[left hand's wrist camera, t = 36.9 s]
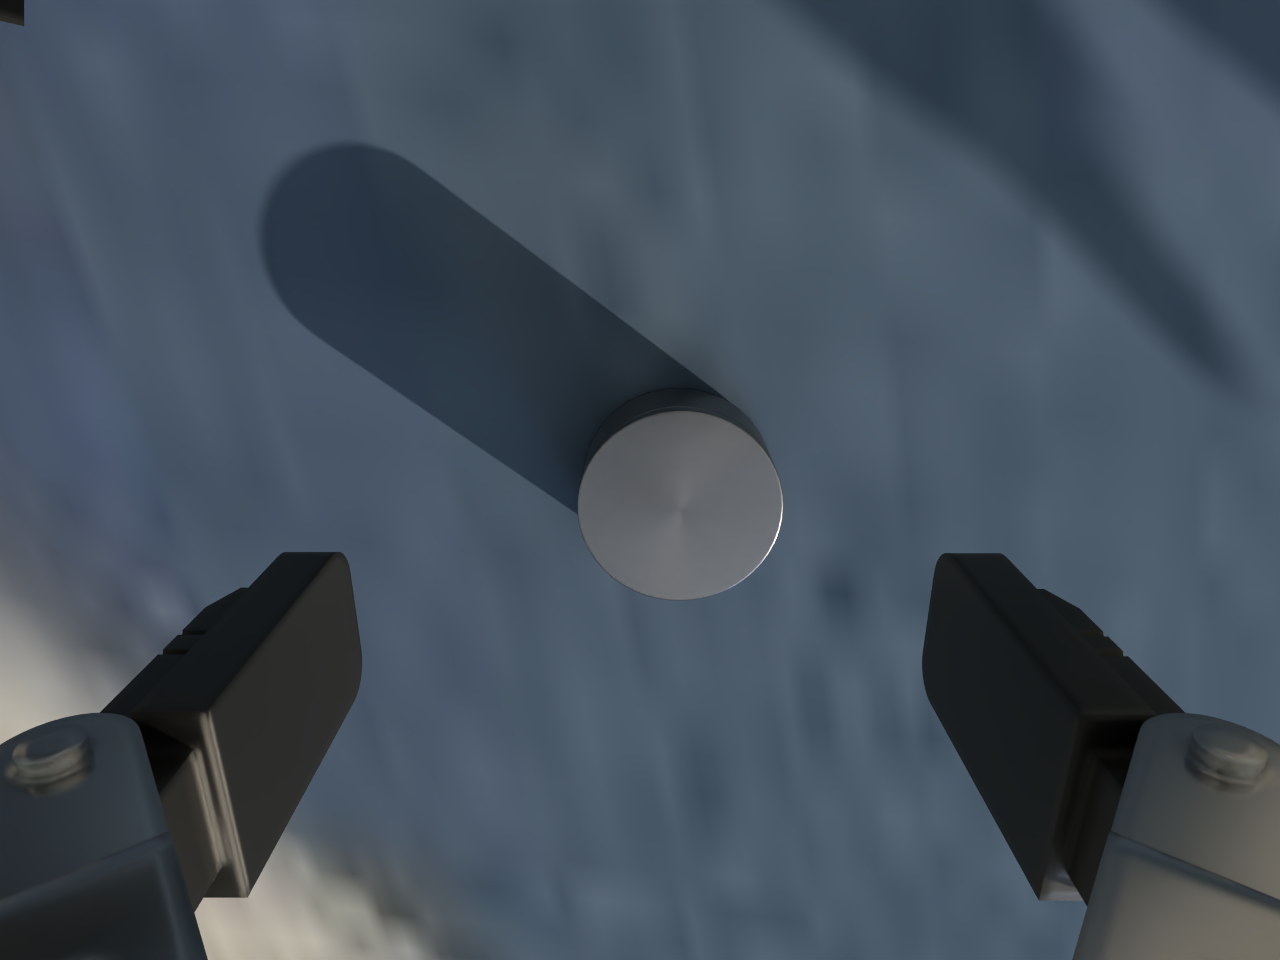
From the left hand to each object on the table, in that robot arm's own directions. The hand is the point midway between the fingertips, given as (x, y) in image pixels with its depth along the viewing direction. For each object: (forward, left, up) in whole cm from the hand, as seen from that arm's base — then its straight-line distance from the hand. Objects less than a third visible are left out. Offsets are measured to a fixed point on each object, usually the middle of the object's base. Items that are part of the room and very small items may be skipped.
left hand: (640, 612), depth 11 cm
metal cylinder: (0, -1, -5) cm, 5 cm away
